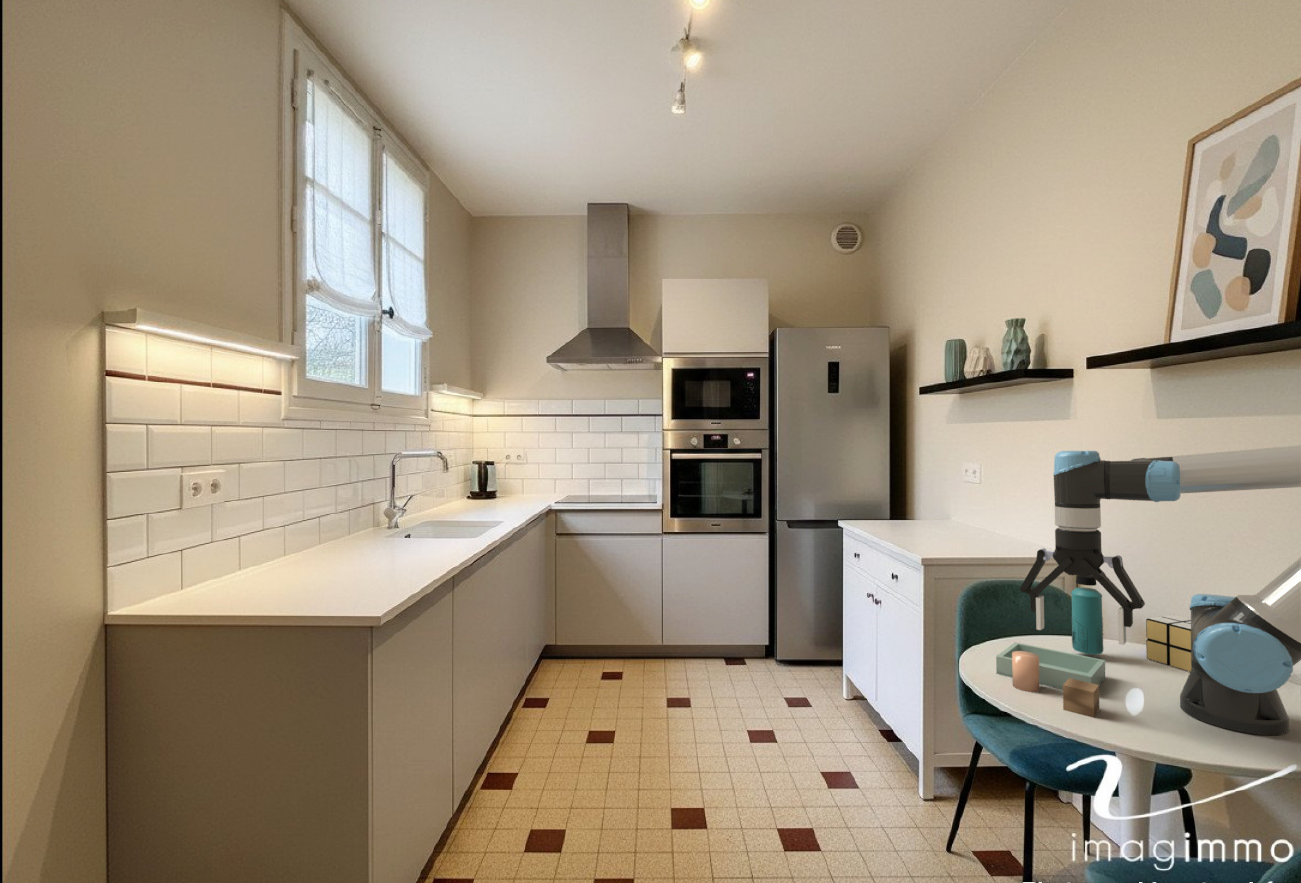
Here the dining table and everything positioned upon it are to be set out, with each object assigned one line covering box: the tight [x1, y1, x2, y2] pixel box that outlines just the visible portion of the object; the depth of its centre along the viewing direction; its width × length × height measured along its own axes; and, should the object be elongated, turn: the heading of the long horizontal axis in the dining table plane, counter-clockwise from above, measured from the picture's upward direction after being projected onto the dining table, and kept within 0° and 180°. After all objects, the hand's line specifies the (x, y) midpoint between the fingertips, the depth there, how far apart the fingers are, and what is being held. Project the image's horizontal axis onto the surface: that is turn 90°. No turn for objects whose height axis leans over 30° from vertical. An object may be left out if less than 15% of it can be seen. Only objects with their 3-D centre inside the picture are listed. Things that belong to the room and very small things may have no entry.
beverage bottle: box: [1070, 575, 1105, 655], centre depth 152 cm, size 6×7×20 cm
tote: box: [995, 642, 1106, 690], centre depth 140 cm, size 18×14×4 cm
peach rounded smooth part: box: [1011, 651, 1041, 693], centre depth 134 cm, size 5×5×7 cm
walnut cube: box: [1062, 678, 1100, 718], centre depth 122 cm, size 5×5×5 cm
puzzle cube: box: [1145, 614, 1192, 673], centre depth 147 cm, size 10×10×10 cm
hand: (1079, 635), depth 122 cm, fingers open, 13 cm apart
